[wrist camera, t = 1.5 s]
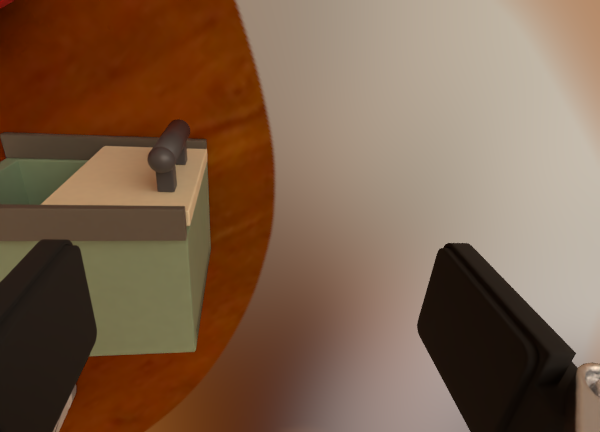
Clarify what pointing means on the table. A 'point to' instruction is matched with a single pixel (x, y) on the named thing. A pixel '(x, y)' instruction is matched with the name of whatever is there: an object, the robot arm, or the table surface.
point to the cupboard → (110, 243)
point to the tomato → (5, 2)
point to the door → (139, 175)
